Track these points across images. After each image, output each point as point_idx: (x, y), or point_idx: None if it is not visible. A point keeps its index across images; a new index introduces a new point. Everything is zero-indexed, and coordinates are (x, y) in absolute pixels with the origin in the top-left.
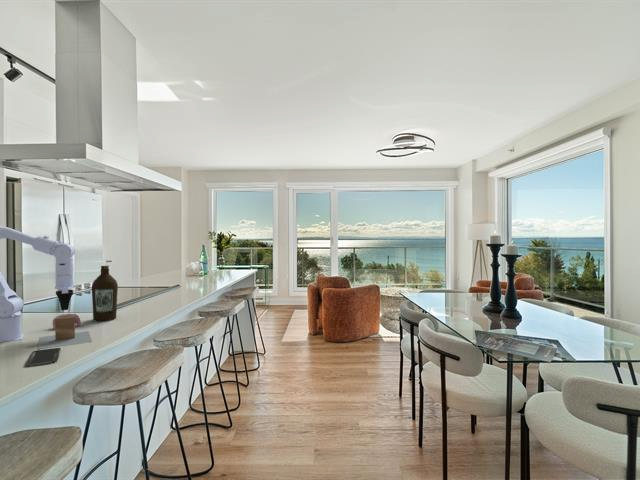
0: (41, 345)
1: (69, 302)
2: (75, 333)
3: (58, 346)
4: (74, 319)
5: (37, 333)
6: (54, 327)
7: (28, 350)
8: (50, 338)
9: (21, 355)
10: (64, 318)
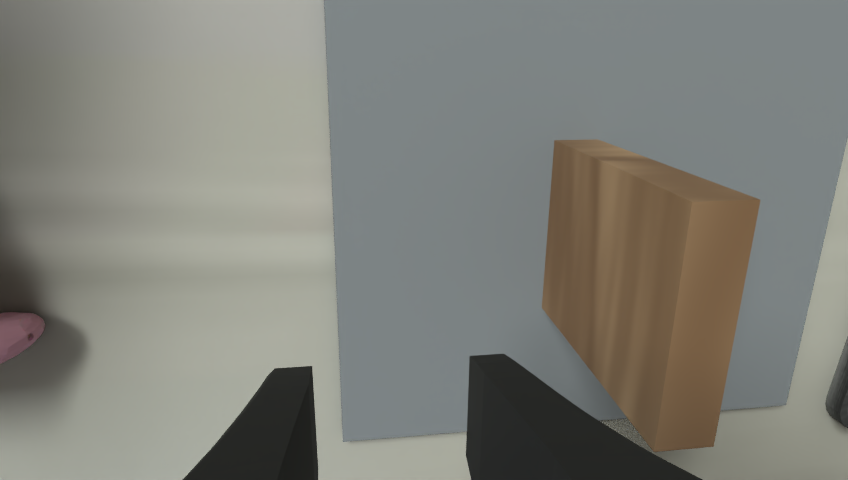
0: None
1: (610, 429)
2: (373, 125)
3: (812, 272)
4: (734, 193)
5: (96, 471)
6: (12, 356)
7: (719, 454)
8: (463, 349)
9: (820, 475)
10: (729, 338)
